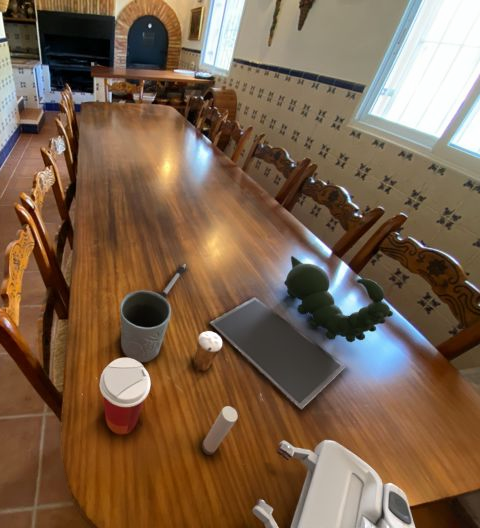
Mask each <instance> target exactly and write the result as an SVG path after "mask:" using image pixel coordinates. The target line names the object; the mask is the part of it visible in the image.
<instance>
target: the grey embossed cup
mask: <svg viewBox="0 0 480 528" xmlns="http://www.w3.org/2000/svg"><path fill="white" fill-rule="evenodd" d="M119 315H120V317H119V319H120V326H121V327H120V331H121V335H120V345H121V346H120V347H121V351H122V352H123V354H124V356H126V358H131V359H134V360H136V361H138V362H140V363H148V362H150V361H152V360H154V359H155V358H156V357H157V356H158V355H159V352H160V351H161V346H162V343H163V341H164V338H165V334H166V331H167V328H168V324H169V322H170V319H171V317H172V316H171V315H172V308H171V305H170V303H169V302H168V300H167V299H166V298H165V297H162V296H161V294H159V293H157V292H155V291H151V290H136V291H132V292H130V293H128V294H127V295H126V296H124V297H123V298H122V300H121V302H120V306H119Z"/></svg>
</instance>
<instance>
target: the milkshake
mask: <svg viewBox="0 0 480 528" xmlns="http://www.w3.org/2000/svg"><path fill="white" fill-rule="evenodd" d="M222 347H223V340H222V337H221V336H220V335H219V334H218V333H217V332H213V331H211V330H210V331H203V332H201V333H200V334H199V335H198V340H197V346H196V350H195V355H194V360H193V365H194V367H195V369H197V370H198V371H201V372H205V371H207V370H208V369H210V367H211V365H212V363H214V360H215V359H216V357H217V355H218V354H219V352H220V351H221V349H222Z"/></svg>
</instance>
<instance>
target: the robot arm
mask: <svg viewBox="0 0 480 528" xmlns="http://www.w3.org/2000/svg"><path fill="white" fill-rule="evenodd" d="M276 453H277V454H278V455H279V456H282V458H283V459H285V460H286V461H289V460H290V459H292V458H293V459H299V460H302V461H301V464H302V465H303V466H305V467H306V469H308V470H307V473H306V475H305V480H304V482H303V484H302V485H303V486H302V489H301V492H300V495H299V498H298V502H297V504H296V508H295V511H294V514H293V518H292V520H291V524H290V528H416V525H415V522H414V519H413V515H412V511H411V508H410V504H409V499H408V497H407V495H406V493H405V492H404V490H402V489H401V488H400V487H398V486H397V485H396V484H394V483H392V482H387V483H383V481H382V478H381V477H380V475H379V474H378V472H377V471H376V470H375V469H374V468H373V467H371V466H370V464H368V463H367V462H366V461H364V460H363V459H362V458H360V457H359V456H358V455H356V454H355V453H353V452H352V451H350V449H348V448H347V447H345V446H343V445H342V444H340V443H339V442H337V441H335V440H331V439H324V440H322V441H321V442H320V443H318V444H317V445H316V447H315V448H314V451H312V450H310V449H306V448H300V447H295V446H293V445H292V444H291V443H289V442H288V441H286V440H281V441H280V442H279V444H278V447H277V449H276ZM251 511H252V512H251V513H253V515H255V517H257V518H258V519H259V520H260V521H261V522H262V523H263V524H264V527H265V528H280V527H279V526H278V524H277V522H276V521H275V519H274V517H273V511H274V508H273V507H272V506H270V505H269V504H267V503H266V501H265V500H263V499H262V498H258V499H257V500H256V501H255V504H254V505H253V508H252V510H251Z"/></svg>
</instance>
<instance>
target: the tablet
mask: <svg viewBox="0 0 480 528" xmlns="http://www.w3.org/2000/svg"><path fill="white" fill-rule="evenodd" d="M208 326H209V327H211V329H213V330H214V331H215V333H216V334H217V335H218V336H219V337H220V338H221V339H223V340H224V341H225V342H227V344H229V346H231V347H232V348H233V350H235V351H236V353H238V354H239V355H240V357H242V358H243V359H244V360H245V361H246V362H247V363H248V364H249V365H250V366H251V367H253V368H254V370H256V371H257V373H259V374H260V375H261V377H263V378H264V379H265V380H266V381H267V382H268V383H269V384H270V385H272V387H273V388H275V390H277V391H278V393H280V395H282V396H283V397H284V398H285V399H286V400H287V401H288V402H290V404H291V405H292V406H294V407H295V408H296V409H297V410H298V412H301V411H302V410H303V409H304V408H305V407H306V406H307V405H308V404H309V403H310V402H311V401H312V400H314V398H315V397H316V396H317V395H319V393H320V392H322V391H323V390H324V389H325V388H326V387H327V386H328V385H329V384H330V383H331V382H332V381H333V380H335V378H336V377H337V376H338V375H339V374H341V372H342V371H344V370H345V369H346V366H345V365H344V364H343V363H342V362H340V361H339V360H337V359H336V358H335V357H334V356H333V355H331V354H330V353H329V352H327V351H326V350H325V349H323V348H322V347H321V346H319V345H318V344H317V343H316V342H314V341H313V340H312V339H311V338H310V337H308V336H306V335H305V334H304V333H303V332H301V331H300V330H299V329H297V328H296V327H295V326H294V325H292V324H291V323H290V322H289V321H287V320H286V319H284V318H283V317H282V316H280V315H279V314H278V313H276V311H274V310H273V309H271V308H270V307H268V305H266V304H265V303H264V302H262V301H261V300H260V299H258V297H256V296H254V297H252V298H250V299H249V300H247V301H245V302H243V303H242V304H240V305H238V306H236V307H234V308H233V309H230V310H229V311H228V312H226V313H224V314H222V315H221V316H219V317H217V318H216V319H214V320H212V321H210V322H209V324H208Z"/></svg>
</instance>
